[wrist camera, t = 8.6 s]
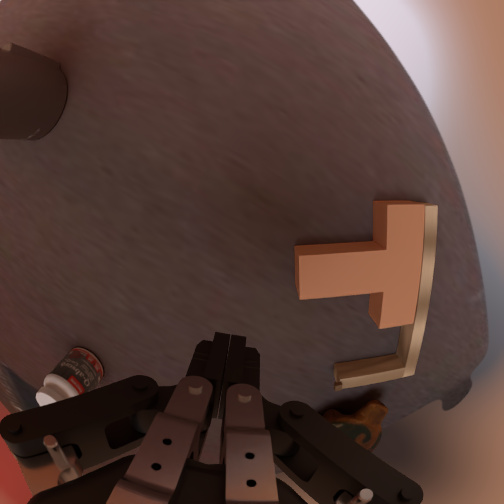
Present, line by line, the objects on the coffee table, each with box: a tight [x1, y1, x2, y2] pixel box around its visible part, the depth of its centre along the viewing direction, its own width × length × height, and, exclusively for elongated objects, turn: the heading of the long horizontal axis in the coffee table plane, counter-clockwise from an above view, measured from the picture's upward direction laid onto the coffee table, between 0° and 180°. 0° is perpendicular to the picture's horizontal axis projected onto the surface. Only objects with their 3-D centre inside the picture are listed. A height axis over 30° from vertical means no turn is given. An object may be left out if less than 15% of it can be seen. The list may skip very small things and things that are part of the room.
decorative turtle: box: [322, 399, 388, 452], centre depth 30 cm, size 10×15×8 cm, turn 146°
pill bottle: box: [36, 348, 103, 406], centre depth 28 cm, size 6×6×10 cm
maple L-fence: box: [334, 202, 438, 391], centre depth 27 cm, size 20×10×4 cm, turn 5°
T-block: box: [294, 200, 425, 329], centre depth 26 cm, size 12×12×4 cm
